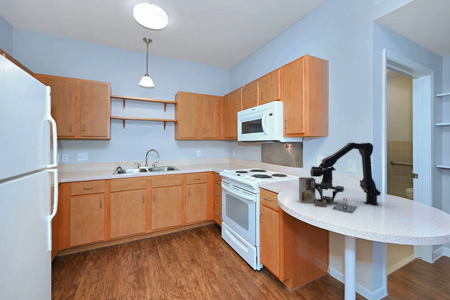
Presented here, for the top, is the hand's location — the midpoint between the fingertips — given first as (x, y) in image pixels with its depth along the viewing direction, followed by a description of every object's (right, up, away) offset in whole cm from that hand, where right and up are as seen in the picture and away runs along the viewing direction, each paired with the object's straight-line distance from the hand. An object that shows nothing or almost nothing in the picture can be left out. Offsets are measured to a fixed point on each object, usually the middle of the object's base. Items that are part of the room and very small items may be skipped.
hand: (327, 199), depth 129 cm
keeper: (+4, -2, -13) cm, 14 cm away
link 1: (-8, -2, -7) cm, 11 cm away
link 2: (0, -1, 0) cm, 1 cm away
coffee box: (-13, -2, +1) cm, 14 cm away
